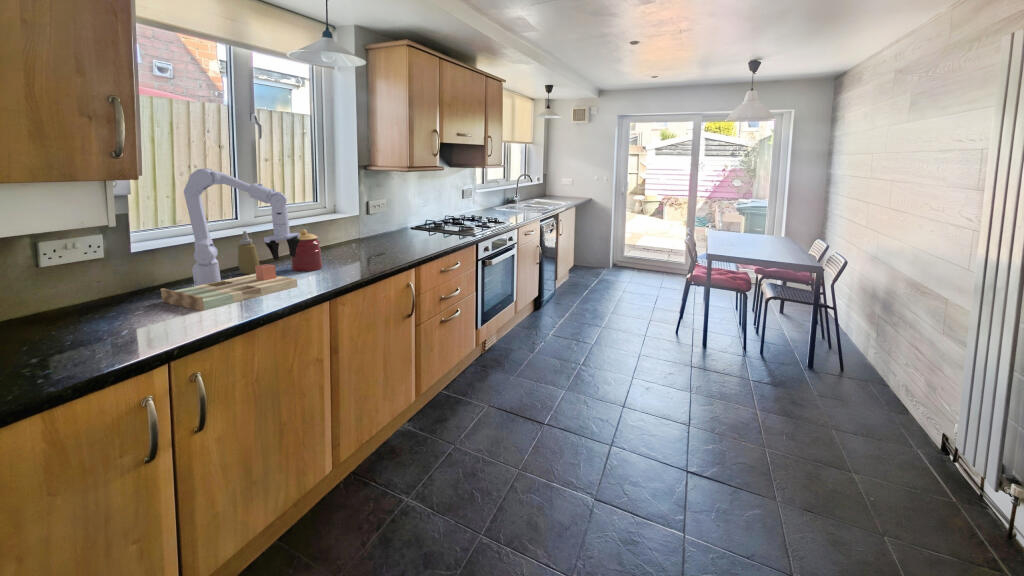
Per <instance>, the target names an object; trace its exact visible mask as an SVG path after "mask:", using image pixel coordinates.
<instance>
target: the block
mask: <svg viewBox="0 0 1024 576" xmlns="http://www.w3.org/2000/svg"><path fill="white" fill-rule="evenodd" d="M255 270H256V273H255V274H256V278H257V279H259V280H264V281H265V280H270V279H275V278H276V276H277V271H276V265H274V264H271V263H270V264H269V263H266V264H259V266H255Z"/></svg>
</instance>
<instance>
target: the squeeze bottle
mask: <svg viewBox="0 0 1024 576" xmlns="http://www.w3.org/2000/svg"><path fill="white" fill-rule="evenodd" d="M237 261H238V262H237V264H238V265H237V266H238V267H239V270H240V272H241V274H243V275H251V274H256V270H255V266H259V265H260V260H259V256H258V251H257V248H256V245H255V244H253V239H251V238H249V234H248V232H247V231H246V230H243V231H242V239H240V240H239V245H238V246H237Z"/></svg>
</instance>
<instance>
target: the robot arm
mask: <svg viewBox="0 0 1024 576" xmlns="http://www.w3.org/2000/svg"><path fill="white" fill-rule="evenodd" d="M188 177H189V178H188V180H187V182H186V184H185V187H184V189H183V195H184V199H185V203H186V208H187V213H188V216H189V219H190V224H191V229H192V232H193V233H192V234H193V236H194V253H193V259H194V260H195V264H194V265H193V266H192V270H191V271H192V276H193V284H192V285H191V287H193V286H198V285H203V284H208V283H213V282H217V281H222V279H221V271H220V264H219V260H217V257H218V254H219V251H218V248H217V247H216V246H215V245H214V241H213V239H212V238H211V235H210V232H209V231H210V230H209V227H208V222H207V217H206V213H205V208H204V204H203V200H202V194H203V193H204V192H205V191H206V190H207V189H208V188H210V187H211V186H213V185H226V186H229V187H232V188H235V189H238V190H240V191H243V192H245V193H247V194H248V196H249V197H250V198H251V199H253V200H256V201H259V202H261V203H264V204H267V205H268V204H269V205H270V207H271V219H272V227H273V235H272V234H271V235H268V236H264V237H263V239H264V241H263V242H264V244H265V245H266V247H267V248H268V250H269V251H270V253H271V256H272V258H273V261H274V260H275V261H278V260H279V258H280V255H279V246H280V243H279V241H284V240H285V241H286V243H287V245H288V250H289V252H288V253H289V257H290V256H291V257H295V254H296V249H297V246H298V243H299V241H300V239H297V238H300V236H299V234H300V232H290V230H291V229H290V222H289V221H290V220H289V211H288V206H287V205H286V204H287V202H288V198H287V197H286V195H285V194H284V193H282V192H281V191H276V189H275V188H269V187H267V186H264V184H263V183H260V182H259V183H255V182H254V183H252V184H250V183H247V182H245V181H243V180H240V179H238V178H237V177H234V176H232V175H229V174H227V173H224V172H221V171H217V170H213V169H212V168H206V167H205V168H197V169H195V170H194V171H193V172H192V173H191V174H190V175H189V176H188ZM291 257H290V258H291Z"/></svg>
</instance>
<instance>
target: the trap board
mask: <svg viewBox="0 0 1024 576" xmlns="http://www.w3.org/2000/svg"><path fill="white" fill-rule="evenodd" d="M298 286H299V285H298V279H297V278H293V277H288V276H287V277H286V276H281V275H276V278H275V279H270V280H265V281H264V280H259V279H257V278H256V273H254V274H245V275H243V276H238V277H233V278H228V279H223V280H222V279H221V281H217V282H213V283H208V284H203V285H198V286H194V287H193V286H190V287H185V288H181V289H175V290H172V289H168V288H160V295H161V300H162V303H165V304H166V303H167V304H171V305H175V306H178V307H182V306H183V307H184V308H187V309H191V310H195V311H199V312H202V311H206V310H211V309H215V308H219V307H223V306H226V305H231V304H234V303H238V302H242V301H246V300H250V299H254V298H258V297H262V296H266V295H271V294H274V293H278V292H281V291H286V290H290V289H293V288H298Z"/></svg>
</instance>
